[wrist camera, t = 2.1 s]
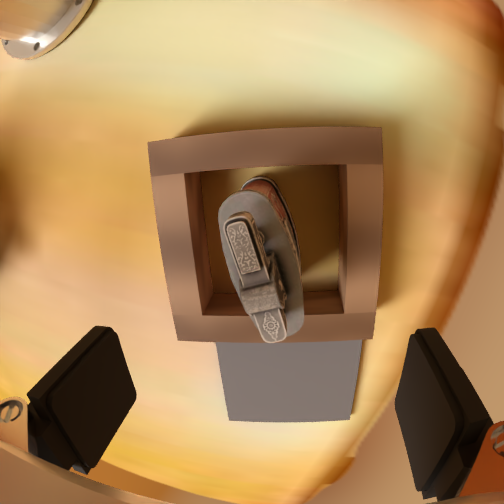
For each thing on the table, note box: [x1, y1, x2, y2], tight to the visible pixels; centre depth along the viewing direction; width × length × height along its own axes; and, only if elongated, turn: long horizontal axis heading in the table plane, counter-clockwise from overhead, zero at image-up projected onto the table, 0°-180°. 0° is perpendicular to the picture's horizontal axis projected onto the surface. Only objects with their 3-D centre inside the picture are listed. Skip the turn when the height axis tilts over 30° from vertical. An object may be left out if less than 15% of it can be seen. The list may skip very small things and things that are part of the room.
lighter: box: [218, 176, 304, 343], centre depth 18 cm, size 8×3×10 cm, turn 18°
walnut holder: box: [148, 127, 383, 343], centre depth 21 cm, size 14×14×4 cm
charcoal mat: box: [216, 340, 362, 422], centre depth 27 cm, size 10×12×1 cm
